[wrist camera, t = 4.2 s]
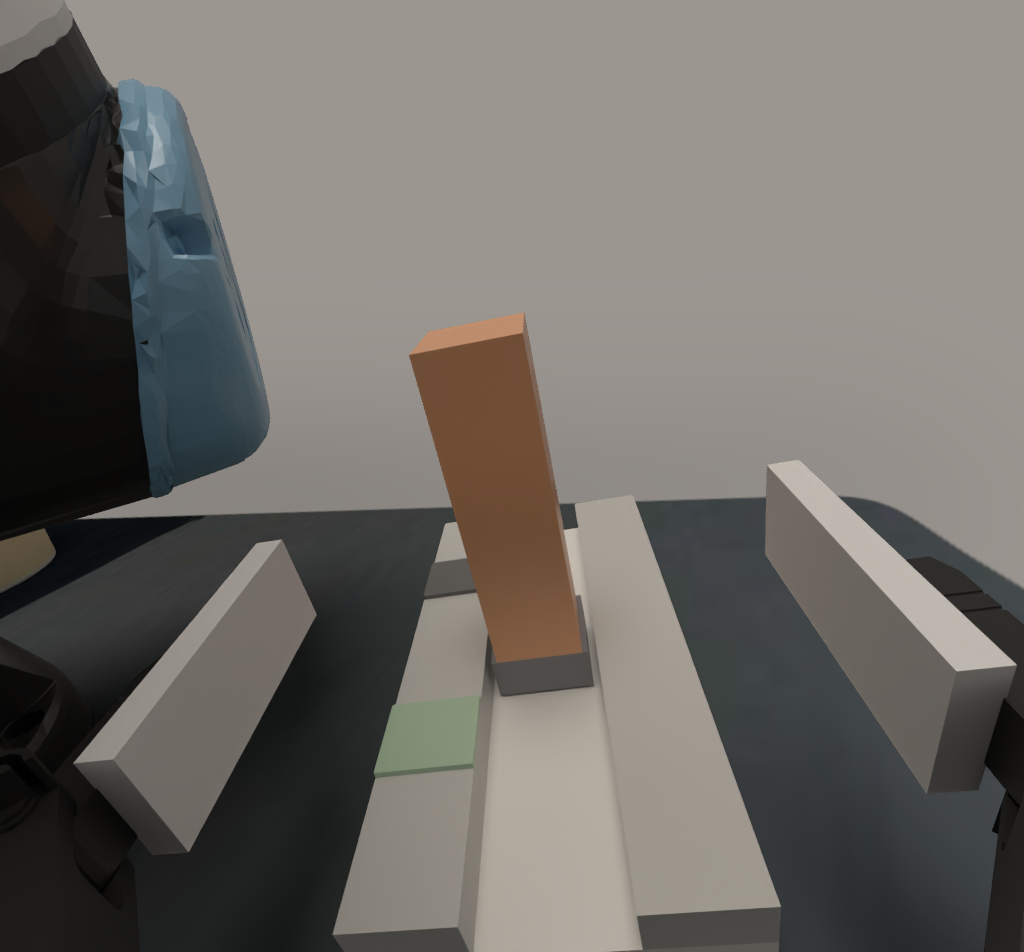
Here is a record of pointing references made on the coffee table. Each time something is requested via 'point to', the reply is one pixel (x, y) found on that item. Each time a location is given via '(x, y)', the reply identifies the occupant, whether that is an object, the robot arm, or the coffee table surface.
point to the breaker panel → (557, 784)
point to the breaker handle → (505, 499)
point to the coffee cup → (24, 557)
